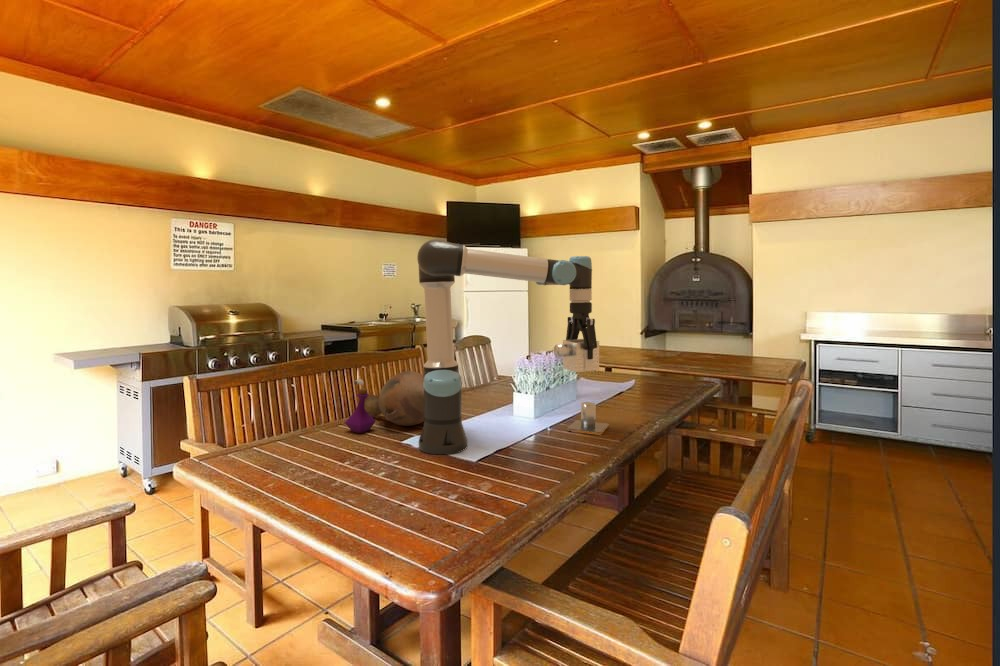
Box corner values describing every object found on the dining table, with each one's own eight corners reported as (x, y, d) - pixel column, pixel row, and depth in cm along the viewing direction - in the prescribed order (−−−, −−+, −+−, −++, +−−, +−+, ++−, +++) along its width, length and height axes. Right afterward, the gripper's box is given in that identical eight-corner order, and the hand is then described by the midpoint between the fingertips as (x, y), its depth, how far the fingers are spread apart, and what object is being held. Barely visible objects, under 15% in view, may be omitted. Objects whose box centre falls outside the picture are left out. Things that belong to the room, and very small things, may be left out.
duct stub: (566, 431, 178) (567, 405, 177) (576, 423, 189) (576, 398, 188) (600, 435, 173) (601, 409, 172) (608, 427, 184) (609, 401, 183)
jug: (445, 425, 185) (391, 425, 204) (446, 371, 189) (392, 376, 207) (403, 426, 170) (347, 426, 188) (404, 367, 173) (350, 372, 191)
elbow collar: (584, 366, 184) (584, 338, 183) (599, 370, 176) (599, 341, 175) (550, 369, 179) (550, 341, 178) (563, 373, 170) (563, 343, 169)
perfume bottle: (376, 430, 179) (375, 379, 177) (359, 435, 173) (358, 382, 171) (361, 426, 183) (360, 377, 181) (344, 431, 177) (343, 380, 175)
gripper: (608, 302, 167) (608, 370, 170) (573, 300, 187) (573, 361, 190) (588, 302, 165) (588, 372, 167) (555, 301, 184) (555, 363, 187)
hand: (580, 366), depth 178 cm, fingers closed on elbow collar, 9 cm apart
